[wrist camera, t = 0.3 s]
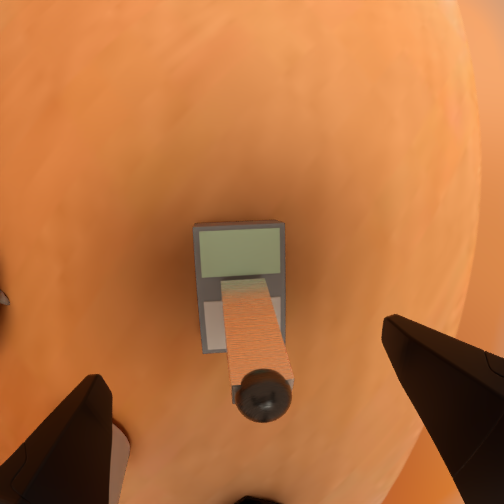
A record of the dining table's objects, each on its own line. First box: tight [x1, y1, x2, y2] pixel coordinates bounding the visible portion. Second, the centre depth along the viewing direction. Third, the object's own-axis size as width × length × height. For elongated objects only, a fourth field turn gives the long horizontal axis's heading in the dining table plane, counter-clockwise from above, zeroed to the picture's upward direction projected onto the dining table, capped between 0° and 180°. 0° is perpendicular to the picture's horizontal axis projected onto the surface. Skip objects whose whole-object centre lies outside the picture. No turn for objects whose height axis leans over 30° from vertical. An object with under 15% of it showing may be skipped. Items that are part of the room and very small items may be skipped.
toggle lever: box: [221, 278, 294, 423], centre depth 16 cm, size 3×3×10 cm
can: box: [109, 423, 130, 504], centre depth 19 cm, size 8×8×12 cm
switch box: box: [193, 220, 286, 354], centre depth 22 cm, size 9×6×3 cm, turn 2°
